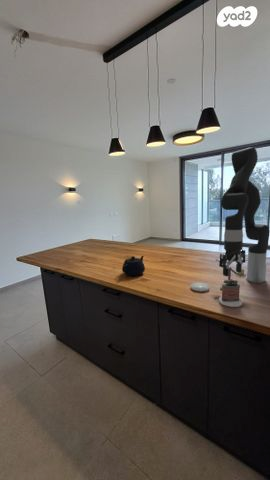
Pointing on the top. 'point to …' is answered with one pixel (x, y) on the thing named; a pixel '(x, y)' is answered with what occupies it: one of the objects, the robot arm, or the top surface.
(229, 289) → the lighter
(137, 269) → the teapot
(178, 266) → the top surface
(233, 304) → the dish low side
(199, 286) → the dish high side
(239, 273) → the balance
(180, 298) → the top surface
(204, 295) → the top surface
